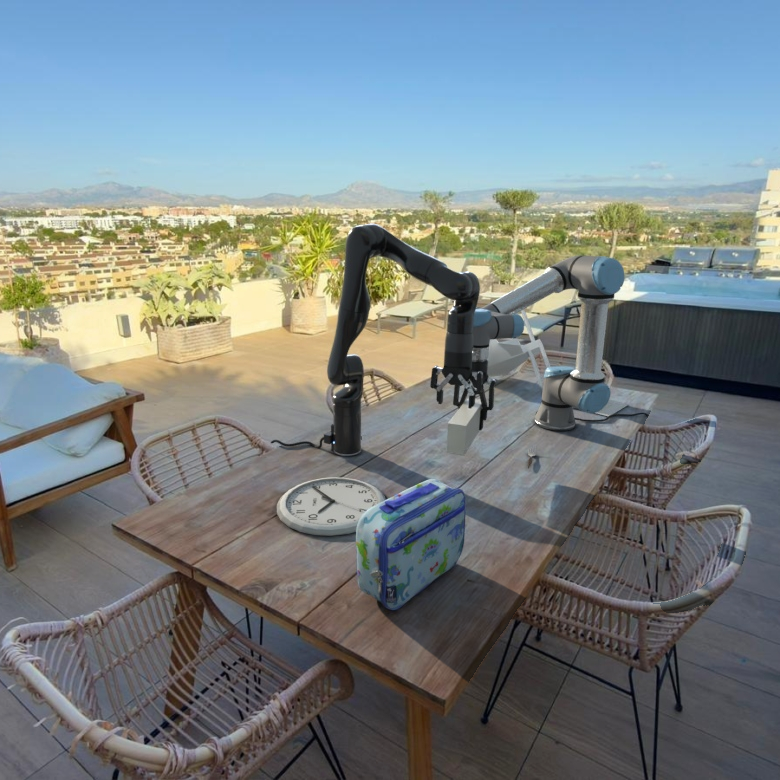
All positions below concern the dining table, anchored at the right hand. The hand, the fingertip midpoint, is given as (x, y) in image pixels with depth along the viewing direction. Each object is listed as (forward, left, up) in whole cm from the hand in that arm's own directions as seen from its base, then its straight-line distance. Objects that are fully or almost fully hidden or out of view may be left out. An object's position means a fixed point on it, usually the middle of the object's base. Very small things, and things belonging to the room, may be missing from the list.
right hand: (471, 427), depth 172 cm
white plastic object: (-21, -87, -10) cm, 90 cm away
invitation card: (-58, -61, -10) cm, 85 cm away
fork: (-20, 0, -10) cm, 22 cm away
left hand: (+6, +24, +15) cm, 29 cm away
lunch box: (+14, +67, -10) cm, 69 cm away
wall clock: (+38, +38, -10) cm, 55 cm away
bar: (+2, +9, -1) cm, 9 cm away
